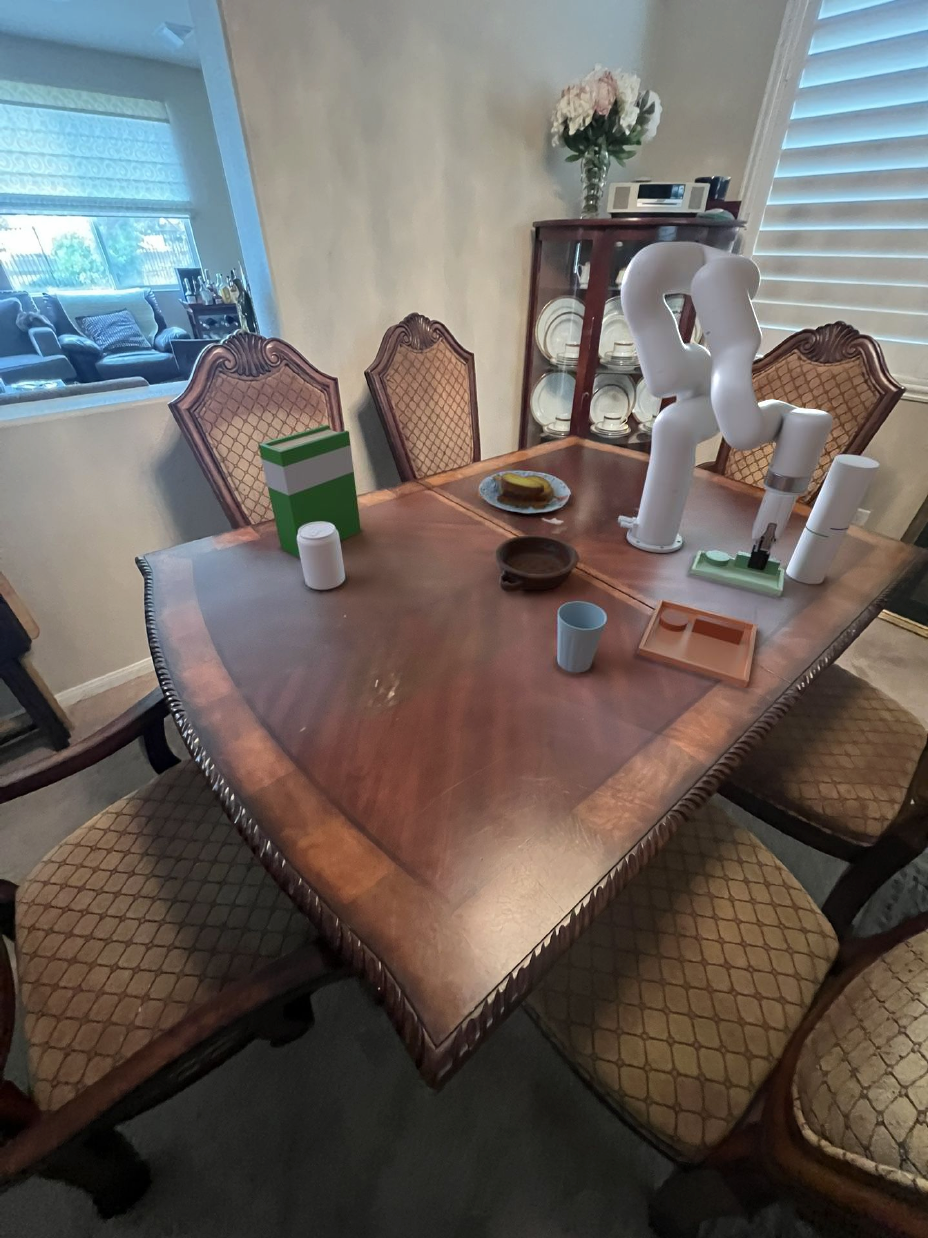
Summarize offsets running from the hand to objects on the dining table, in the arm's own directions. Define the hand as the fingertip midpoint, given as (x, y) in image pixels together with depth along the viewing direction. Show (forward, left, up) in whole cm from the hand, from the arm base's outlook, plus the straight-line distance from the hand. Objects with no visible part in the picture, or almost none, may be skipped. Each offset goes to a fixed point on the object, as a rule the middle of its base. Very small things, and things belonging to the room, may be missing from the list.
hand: (755, 565), depth 109 cm
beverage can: (-78, -44, -4) cm, 90 cm away
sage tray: (-3, 0, -4) cm, 5 cm away
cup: (-24, -44, -4) cm, 50 cm away
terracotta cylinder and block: (-6, -25, -3) cm, 26 cm away
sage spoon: (-2, 0, -1) cm, 2 cm away
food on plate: (-59, +16, -4) cm, 61 cm away
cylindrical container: (+10, +8, -4) cm, 14 cm away
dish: (-41, -20, -4) cm, 46 cm away
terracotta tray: (-6, -28, -4) cm, 29 cm away
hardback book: (-91, -30, -4) cm, 96 cm away
